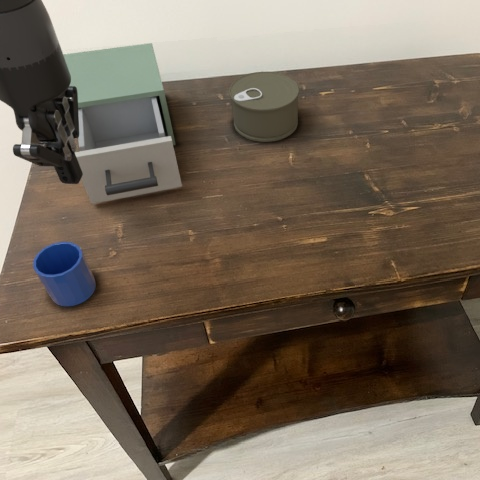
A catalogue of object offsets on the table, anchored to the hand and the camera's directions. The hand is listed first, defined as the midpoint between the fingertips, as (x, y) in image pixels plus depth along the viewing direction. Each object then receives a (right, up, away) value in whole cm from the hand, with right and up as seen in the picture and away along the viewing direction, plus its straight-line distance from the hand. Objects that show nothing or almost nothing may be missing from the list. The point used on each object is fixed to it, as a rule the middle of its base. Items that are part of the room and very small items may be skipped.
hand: (73, 179), depth 65 cm
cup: (-3, -14, +6) cm, 15 cm away
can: (+20, +14, +32) cm, 41 cm away
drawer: (0, +3, +20) cm, 20 cm away
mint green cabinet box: (-4, +13, +30) cm, 33 cm away
